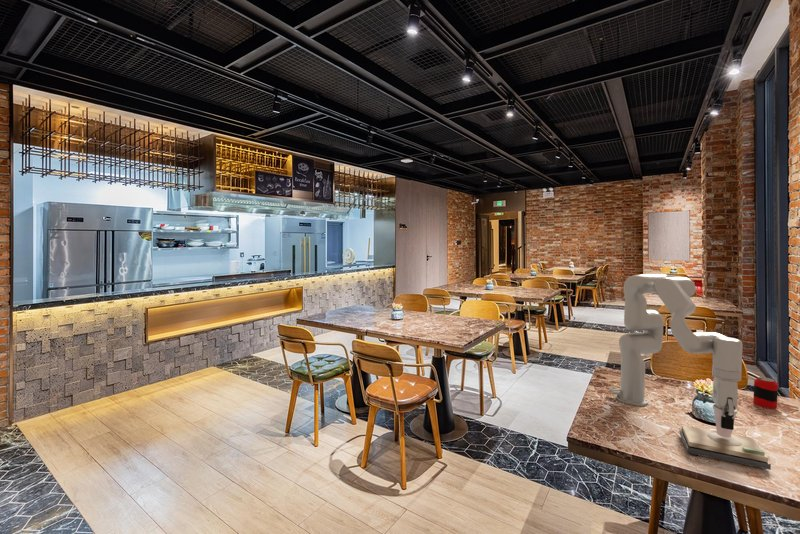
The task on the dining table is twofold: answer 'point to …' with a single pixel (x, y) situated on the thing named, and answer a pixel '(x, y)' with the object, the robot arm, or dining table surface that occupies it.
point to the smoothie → (718, 415)
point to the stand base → (723, 455)
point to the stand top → (724, 443)
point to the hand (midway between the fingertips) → (724, 423)
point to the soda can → (765, 393)
